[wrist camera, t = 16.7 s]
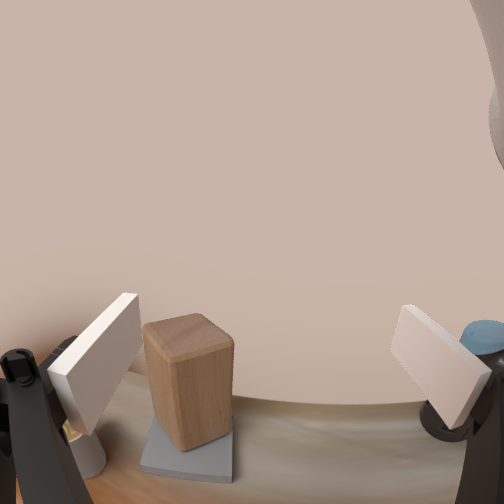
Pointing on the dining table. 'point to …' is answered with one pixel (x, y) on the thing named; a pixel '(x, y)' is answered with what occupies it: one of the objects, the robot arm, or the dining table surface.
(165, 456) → the stand
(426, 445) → the dining table surface
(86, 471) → the coffee mug
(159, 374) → the block
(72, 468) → the robot arm
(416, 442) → the dining table surface
